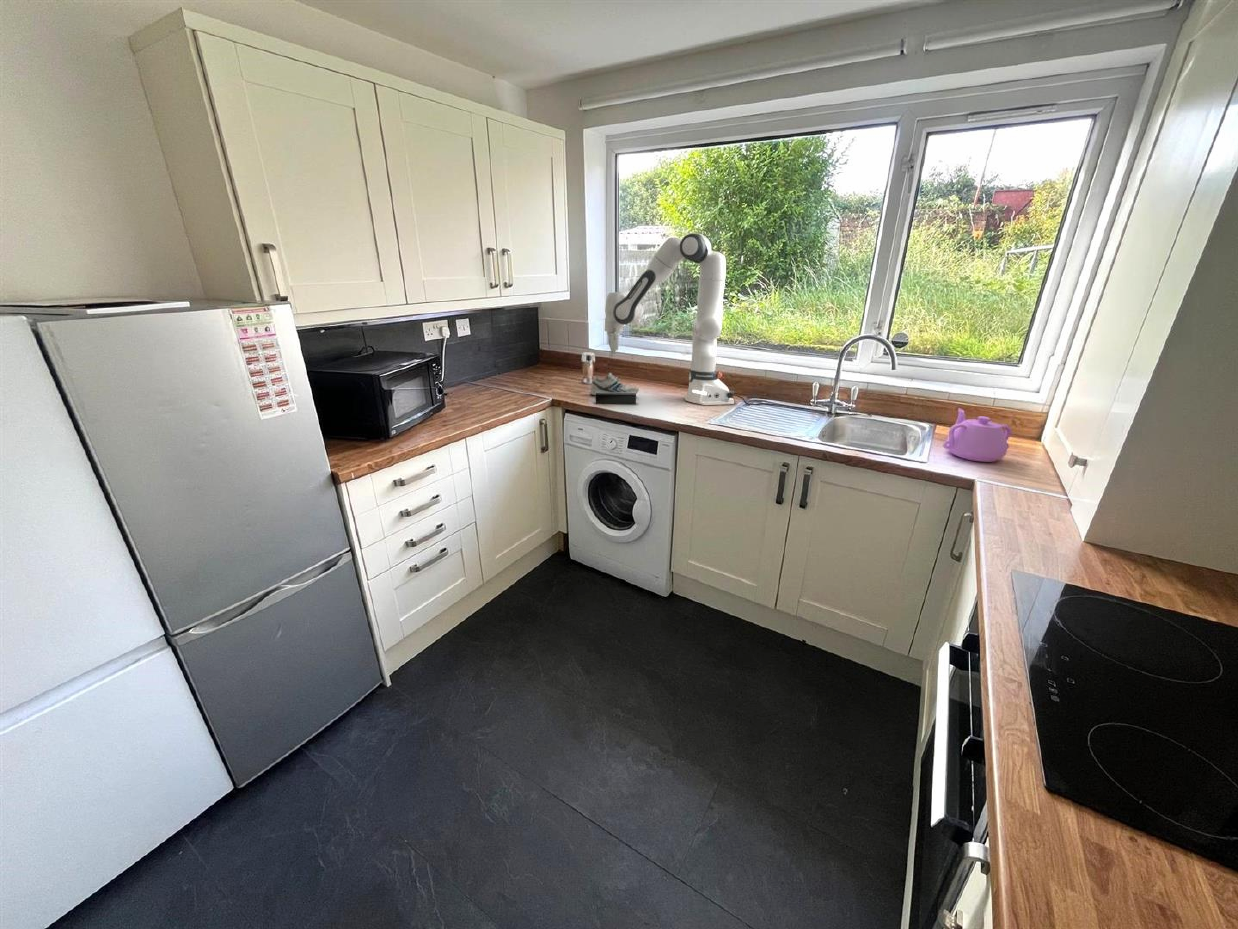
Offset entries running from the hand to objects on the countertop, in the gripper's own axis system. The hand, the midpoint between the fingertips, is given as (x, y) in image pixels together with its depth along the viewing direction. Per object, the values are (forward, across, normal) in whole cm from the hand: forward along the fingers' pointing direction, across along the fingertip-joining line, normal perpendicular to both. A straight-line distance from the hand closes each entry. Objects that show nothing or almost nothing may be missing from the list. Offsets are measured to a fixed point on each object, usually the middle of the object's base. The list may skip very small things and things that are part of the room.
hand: (612, 356), depth 242 cm
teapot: (+15, -91, -119) cm, 150 cm away
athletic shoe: (+16, -14, 0) cm, 21 cm away
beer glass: (+16, +15, +12) cm, 25 cm away
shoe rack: (+16, -28, 0) cm, 32 cm away
